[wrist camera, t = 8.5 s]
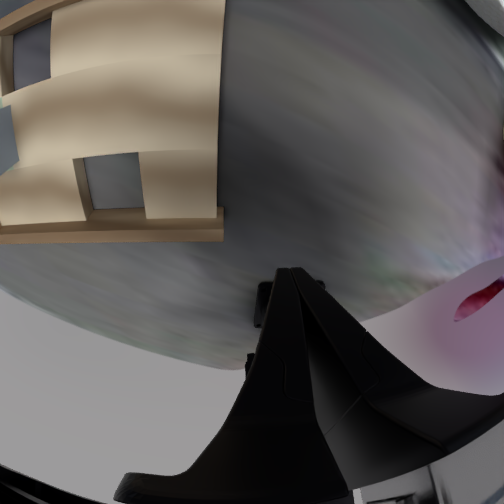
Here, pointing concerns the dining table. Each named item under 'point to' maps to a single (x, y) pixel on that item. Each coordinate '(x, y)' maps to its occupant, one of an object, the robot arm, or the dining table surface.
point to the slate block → (7, 140)
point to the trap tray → (116, 120)
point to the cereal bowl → (490, 12)
